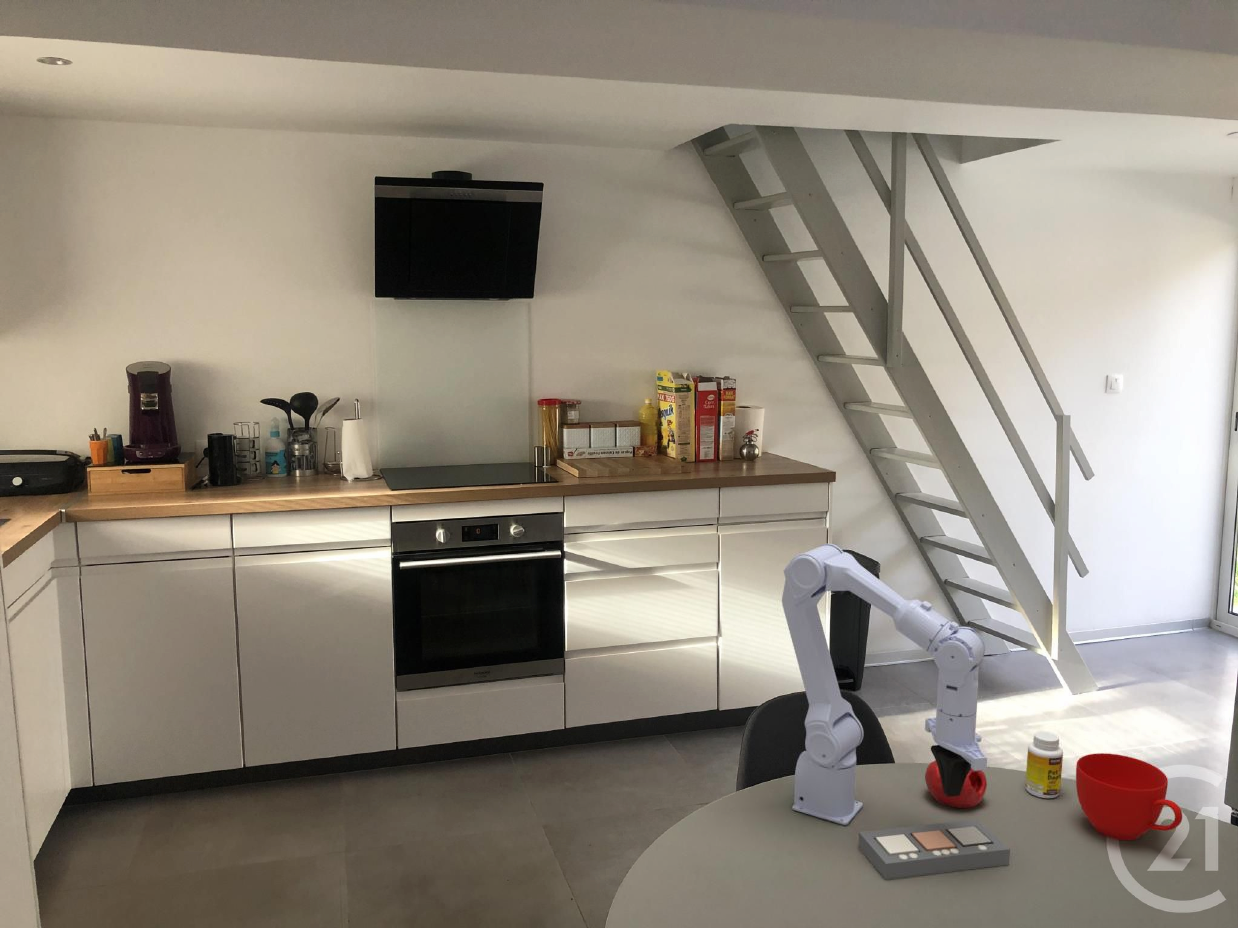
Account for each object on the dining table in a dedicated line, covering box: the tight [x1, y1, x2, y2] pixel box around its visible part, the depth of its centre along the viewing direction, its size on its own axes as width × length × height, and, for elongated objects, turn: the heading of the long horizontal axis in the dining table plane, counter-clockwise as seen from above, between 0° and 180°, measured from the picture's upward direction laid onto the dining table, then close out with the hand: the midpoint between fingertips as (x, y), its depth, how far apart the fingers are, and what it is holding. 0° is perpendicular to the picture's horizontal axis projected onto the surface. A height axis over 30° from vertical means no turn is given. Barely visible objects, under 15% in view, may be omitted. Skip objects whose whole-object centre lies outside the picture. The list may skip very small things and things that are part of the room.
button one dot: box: [948, 826, 991, 847], centre depth 151 cm, size 5×5×2 cm
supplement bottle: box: [1024, 731, 1064, 799], centre depth 169 cm, size 6×6×10 cm
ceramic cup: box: [1075, 752, 1183, 841], centre depth 155 cm, size 13×17×10 cm
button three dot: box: [912, 830, 955, 851], centre depth 149 cm, size 5×5×2 cm
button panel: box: [857, 818, 1011, 881], centre depth 150 cm, size 20×9×3 cm, turn 102°
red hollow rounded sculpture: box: [924, 759, 988, 809], centre depth 167 cm, size 10×10×9 cm
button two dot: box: [876, 834, 919, 856], centre depth 148 cm, size 5×5×2 cm
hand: (951, 793), depth 151 cm, fingers closed
